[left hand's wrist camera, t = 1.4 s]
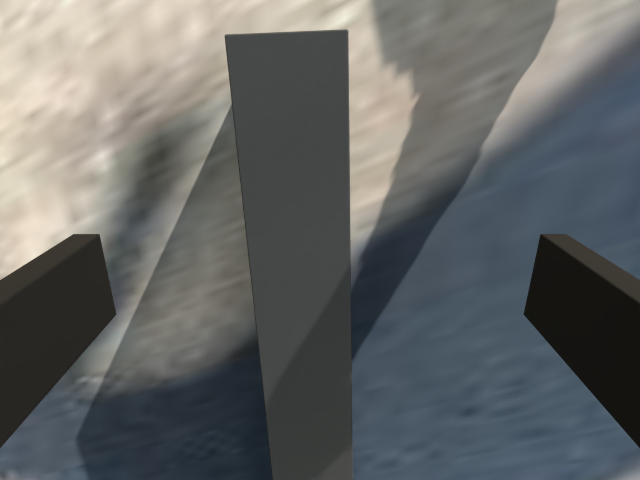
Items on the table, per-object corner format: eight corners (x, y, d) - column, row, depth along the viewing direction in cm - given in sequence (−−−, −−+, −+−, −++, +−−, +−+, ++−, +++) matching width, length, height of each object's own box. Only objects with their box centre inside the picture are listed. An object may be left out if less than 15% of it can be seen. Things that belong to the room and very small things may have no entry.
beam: (256, 49, 23) (224, 34, 16) (341, 45, 23) (348, 29, 16) (305, 634, 44) (301, 746, 37) (350, 634, 44) (355, 747, 37)
